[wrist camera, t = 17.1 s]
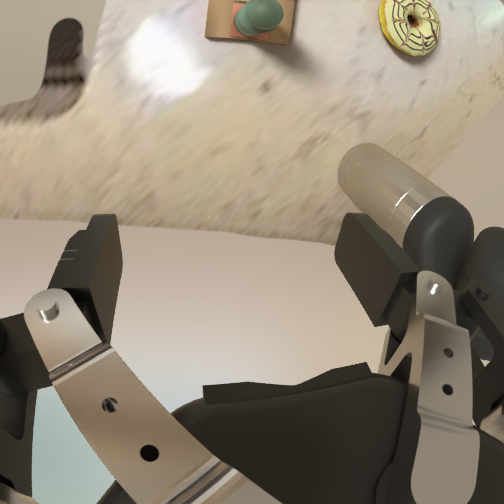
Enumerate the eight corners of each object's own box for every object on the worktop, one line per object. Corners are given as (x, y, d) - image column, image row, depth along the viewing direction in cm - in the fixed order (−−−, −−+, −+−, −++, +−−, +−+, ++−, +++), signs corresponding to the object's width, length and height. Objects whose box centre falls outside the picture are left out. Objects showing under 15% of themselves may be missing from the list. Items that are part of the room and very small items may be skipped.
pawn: (270, 9, 27) (293, -3, 20) (264, 39, 30) (286, 34, 23) (236, 4, 27) (250, -12, 19) (231, 33, 29) (243, 26, 22)
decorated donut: (433, 53, 34) (449, 56, 31) (380, 55, 34) (396, 58, 31) (423, -7, 27) (439, -8, 24) (366, -11, 27) (381, -14, 24)
